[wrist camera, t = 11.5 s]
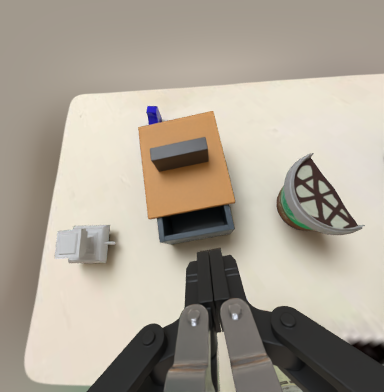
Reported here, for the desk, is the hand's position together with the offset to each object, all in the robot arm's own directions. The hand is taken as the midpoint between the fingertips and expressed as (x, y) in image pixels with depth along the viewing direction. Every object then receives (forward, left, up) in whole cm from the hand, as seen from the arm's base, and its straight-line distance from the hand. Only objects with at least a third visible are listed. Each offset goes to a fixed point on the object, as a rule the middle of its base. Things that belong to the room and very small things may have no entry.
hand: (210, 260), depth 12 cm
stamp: (+9, -20, -24) cm, 33 cm away
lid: (-10, -11, -16) cm, 22 cm away
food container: (-14, +8, -24) cm, 29 cm away
